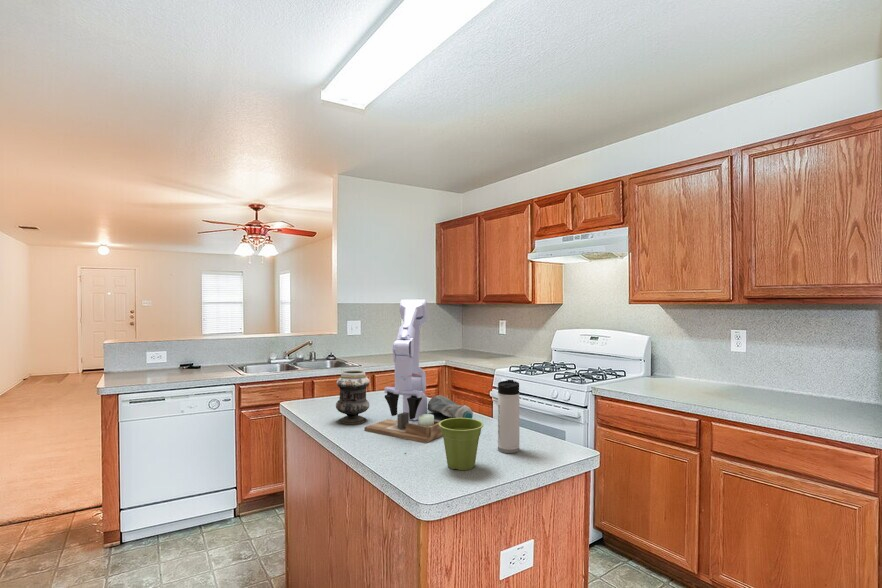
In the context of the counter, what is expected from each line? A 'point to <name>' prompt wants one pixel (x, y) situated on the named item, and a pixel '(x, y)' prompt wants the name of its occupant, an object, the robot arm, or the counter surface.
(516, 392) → the travel mug
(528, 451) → the counter surface
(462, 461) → the plant pot
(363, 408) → the dark footed vase
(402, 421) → the grey-headed mallet
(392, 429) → the shelf lane
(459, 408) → the detergent
